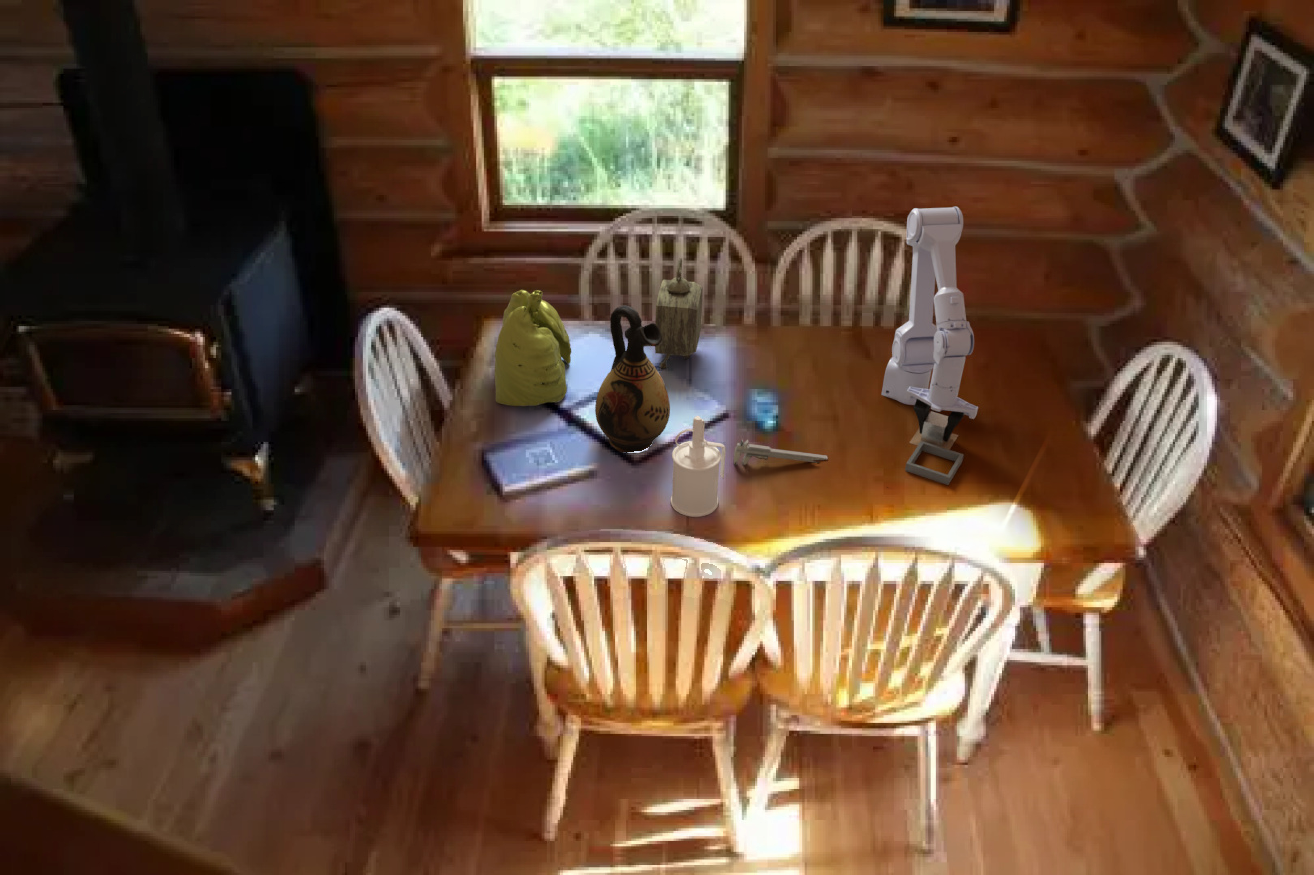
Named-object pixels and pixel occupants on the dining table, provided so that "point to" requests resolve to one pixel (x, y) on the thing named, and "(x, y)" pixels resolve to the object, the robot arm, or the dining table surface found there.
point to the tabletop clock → (678, 316)
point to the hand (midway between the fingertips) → (934, 435)
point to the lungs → (531, 353)
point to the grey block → (934, 429)
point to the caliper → (771, 453)
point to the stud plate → (946, 445)
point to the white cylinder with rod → (696, 473)
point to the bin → (931, 473)
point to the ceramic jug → (632, 387)
